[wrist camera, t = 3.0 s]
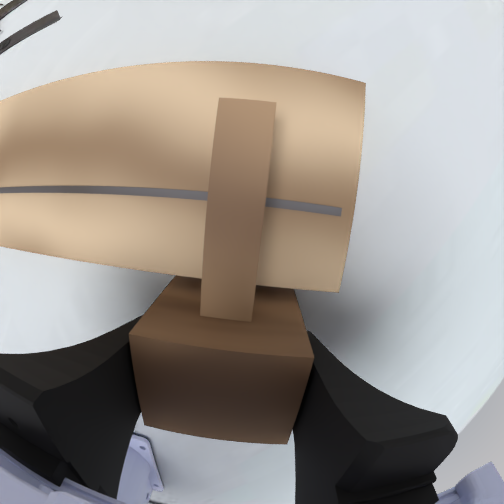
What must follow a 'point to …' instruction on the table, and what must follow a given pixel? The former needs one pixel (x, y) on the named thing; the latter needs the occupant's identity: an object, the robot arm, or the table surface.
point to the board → (179, 168)
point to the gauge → (226, 310)
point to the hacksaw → (28, 29)
